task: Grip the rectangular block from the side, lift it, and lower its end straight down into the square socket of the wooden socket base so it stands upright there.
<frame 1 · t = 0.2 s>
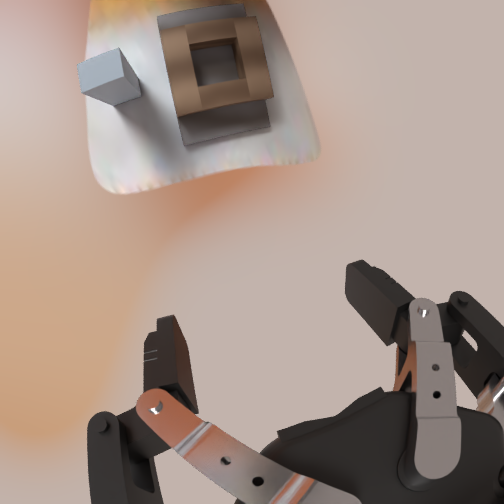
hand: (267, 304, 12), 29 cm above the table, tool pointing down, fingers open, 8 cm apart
rectangular block: (125, 91, 28), on the table
wooden socket base: (212, 68, 30), on the table
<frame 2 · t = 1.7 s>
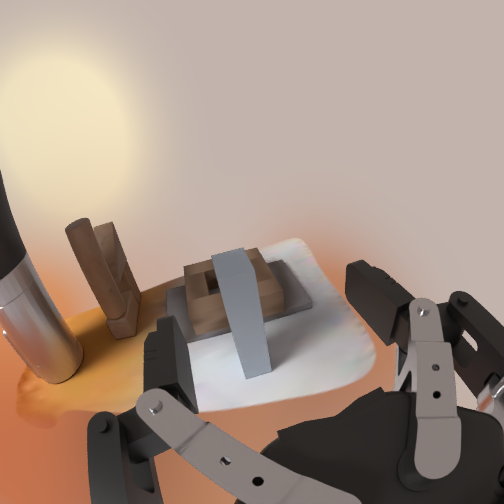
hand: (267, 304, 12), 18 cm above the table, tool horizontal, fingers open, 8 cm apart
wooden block: (129, 316, 40), on the table
rectangular block: (254, 362, 30), on the table
wooden socket base: (233, 301, 40), on the table
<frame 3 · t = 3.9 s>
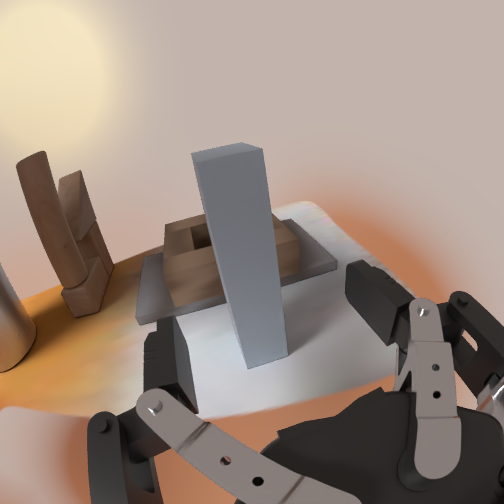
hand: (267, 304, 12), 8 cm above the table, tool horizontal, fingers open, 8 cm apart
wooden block: (96, 291, 30), on the table
rectangular block: (260, 343, 20), on the table
wooden socket base: (228, 266, 30), on the table
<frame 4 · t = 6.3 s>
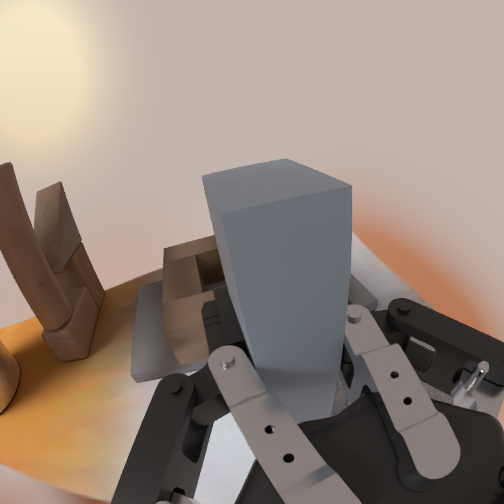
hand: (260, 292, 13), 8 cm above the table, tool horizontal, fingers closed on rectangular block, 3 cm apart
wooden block: (85, 326, 24), on the table
rectangular block: (291, 418, 14), on the table, touching gripper
wooden socket base: (243, 304, 24), on the table
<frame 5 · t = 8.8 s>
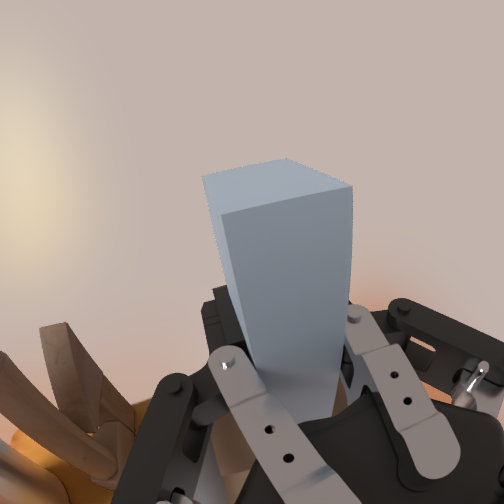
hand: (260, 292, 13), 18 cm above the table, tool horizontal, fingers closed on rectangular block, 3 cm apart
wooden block: (123, 449, 21), on the table
rectangular block: (291, 418, 14), point 10 cm above the table, touching gripper
wooden socket base: (287, 441, 21), on the table
when the fingers open (10 cm above the table, at t = 11.5 s): rectangular block drops 1 cm, resting on wooden socket base.
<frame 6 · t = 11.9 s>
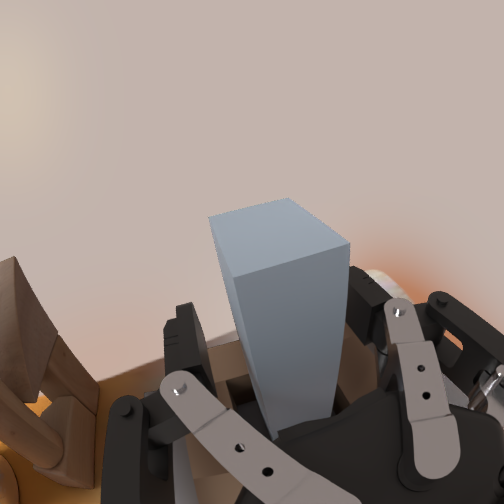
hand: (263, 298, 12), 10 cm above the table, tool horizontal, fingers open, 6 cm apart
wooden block: (81, 435, 15), on the table
rectangular block: (291, 427, 15), point 1 cm above the table, touching wooden socket base
wooden socket base: (292, 432, 15), on the table
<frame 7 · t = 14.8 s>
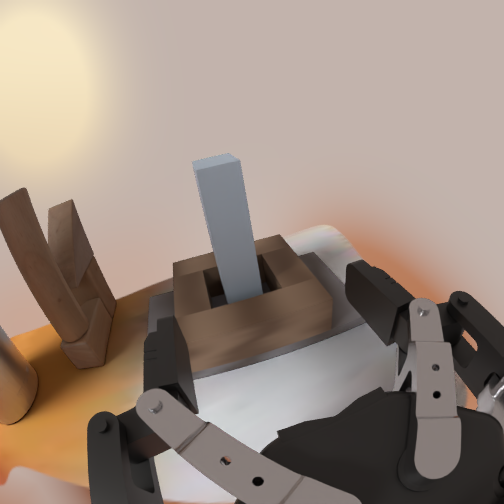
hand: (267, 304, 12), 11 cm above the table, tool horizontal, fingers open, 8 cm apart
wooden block: (99, 334, 27), on the table
rectangular block: (245, 307, 26), point 1 cm above the table, touching wooden socket base
wooden socket base: (247, 315, 27), on the table
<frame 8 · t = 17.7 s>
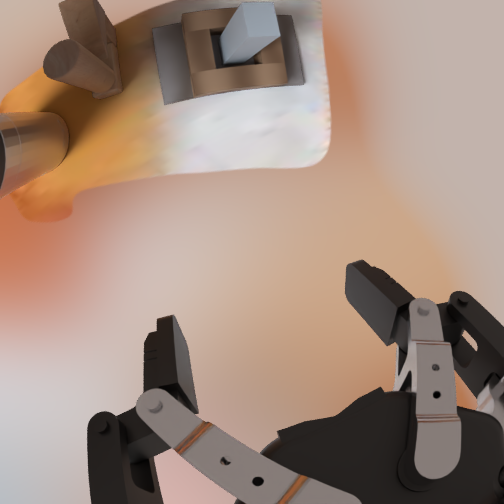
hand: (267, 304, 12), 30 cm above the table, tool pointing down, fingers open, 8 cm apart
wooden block: (106, 63, 26), on the table
rectangular block: (230, 51, 29), point 1 cm above the table, touching wooden socket base
wooden socket base: (229, 53, 30), on the table
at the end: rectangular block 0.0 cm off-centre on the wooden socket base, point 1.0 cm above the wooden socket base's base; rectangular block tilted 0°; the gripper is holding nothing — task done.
